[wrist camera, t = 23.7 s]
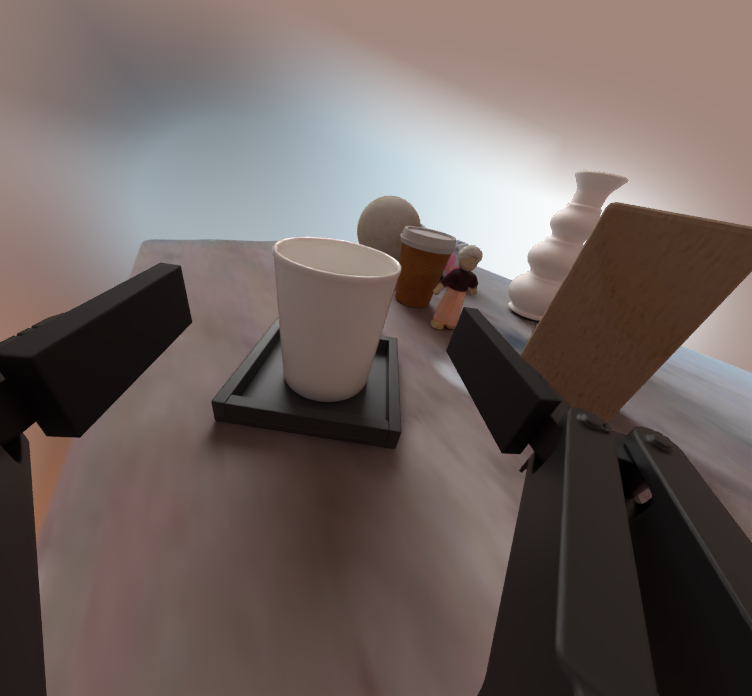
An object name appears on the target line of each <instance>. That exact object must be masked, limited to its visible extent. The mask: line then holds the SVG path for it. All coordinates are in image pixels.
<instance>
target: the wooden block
mask: <svg viewBox="0 0 752 696" xmlns="http://www.w3.org/2000/svg"><path fill="white" fill-rule="evenodd" d="M751 272H752V227H750V226H745V225H739V224H734V223H728V222H722V221H717V220H711V219H706V218H701V217H695V216H690V215H684V214H678V213H673V212H668V211H662V210H656V209H651V208H646V207H640V206H635V205H629V204H623V203H618V202H615V203H610V204H609V205H608V206H607V207H606V208H605V210H604V212H603V213H602V215H601V217H600V219H599V220H598V222H597V224H596V225H595V227H594V229H593V231H592V232H591V234H590V236H589V237H588V239H587V241H586V243H585V244H584V246H583V248H582V249H581V251H580V253H579V255H578V256H577V258H576V260H575V261H574V263H573V265H572V267H571V268H570V270H569V272H568V273H567V275H566V277H565V279H564V280H563V282H562V284H561V285H560V287H559V289H558V291H557V292H556V294H555V296H554V297H553V299H552V301H551V303H550V304H549V306H548V308H547V309H546V311H545V313H544V315H543V316H542V318H541V320H540V321H539V323H538V325H537V327H536V328H535V330H534V332H533V334H532V335H531V337H530V339H529V340H528V342H527V344H526V346H525V347H524V349H523V351H522V352H521V354H520V356H521V357H522V358H523V359H524V360H525V361H526V362H527V363H529V364H530V365H531V366H533V367H534V368H535V369H536V370H537V371H538V372H539V373H540V374H541V375H542V376H543V377H542V378H545V379H546V380H547V382H548V383H549V385H551V386H552V387H553V388H554V389H555V390H556V391H557V392H558V393H559V394H560V395H561V396H562V398H563V399H564V400H565V401H566V402H567V403H568V404H569V405H570V406H571V407H572V408H574V407H576V408H582V409H584V410H587V411H589V412H591V413H593V414H595V415H596V416H598V417H599V418H601V419H602V420H603V421H605V422H606V423H607V422H608V421H609V420H610V419H611V418H612V417H613V416H614V415H615V414H616V413H617V412H618V411H619V410H620V409H621V408H622V407H623V406H624V405H625V403H626V402H627V401H628V400H629V399H630V398H631V397H632V396H633V395H634V394H635V393H636V392H637V391H638V390H639V389H640V388H641V387H642V386H643V385H644V384H645V383H646V382H647V380H648V379H649V378H650V377H651V376H652V375H653V374H654V373H655V372H656V371H657V370H658V369H659V368H660V367H661V366H662V365H663V364H664V363H665V362H666V361H667V360H668V358H669V357H670V356H671V355H672V354H673V353H674V352H675V351H676V350H677V349H678V348H679V347H680V346H681V345H682V344H683V343H684V342H685V341H686V340H687V339H688V338H689V336H690V335H691V334H692V333H693V332H694V331H695V330H696V329H697V328H698V327H699V326H700V325H701V324H702V323H703V322H704V321H705V320H706V319H707V318H708V317H709V316H710V314H711V313H712V312H713V311H714V310H715V309H716V308H717V307H718V306H719V305H720V304H721V303H722V302H723V301H724V300H725V299H726V298H727V296H728V295H730V294H731V293H732V291H733V290H734V289H735V288H736V287H737V286H738V285H739V284H740V283H741V282H742V281H743V280H744V279H745V278H746V277H747V276H748V275H749V274H750V273H751Z"/></svg>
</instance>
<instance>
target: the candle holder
mask: <svg viewBox="0 0 752 696" xmlns="http://www.w3.org/2000/svg"><path fill="white" fill-rule="evenodd" d="M273 256H274V262H275V274H276V288H277V301H278V314H279V328H280V341H281V354H282V365H283V374H284V378H285V381H286V383H287V384H288V386H289V387H290V388H291V389H292V390H293V391H294V392H296V393H297V394H299V395H300V396H302V397H305V398H307V399H310V400H314V401H319V402H337V401H342V400H346V399H349V398H351V397H353V396H355V395H356V394H358V393H359V392H360V391H361V390H362V389H363V387H364V386H365V384H366V382H367V379H368V376H369V373H370V370H371V367H372V364H373V360H374V357H375V354H376V350H377V347H378V344H379V340H380V337H381V334H382V330H383V327H384V324H385V320H386V317H387V314H388V310H389V307H390V304H391V300H392V297H393V294H394V290H395V287H396V284H397V281H398V278H399V276H400V274H401V265H400V264H399V262H398V261H397V260H395V259H394V258H393V257H391V256H389V255H387V254H385V253H383V252H381V251H379V250H376V249H373V248H370V247H367V246H364V245H360V244H356V243H352V242H347V241H342V240H336V239H328V238H319V237H294V238H287V239H283V240H280V241H278V242H276V243H275V244H274V246H273Z"/></svg>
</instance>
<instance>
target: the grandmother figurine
mask: <svg viewBox="0 0 752 696" xmlns="http://www.w3.org/2000/svg"><path fill="white" fill-rule="evenodd" d="M458 255H459V256H458V257H457V258H458V260H459V266H460V268H458V269H454V270H452V271H451V272H450V273H449V274H447V275H446V276H445V277H444V278H443V279H442V280H441V281H440V283H439V284H438V285H437V287H436V288H435V289H434V290H433V293H434V294H435V295H438V294H439V293H440V291H441V290H443V289H444V288H445V287H446V286H448V287H447V291H446V293H445V294H444V296H443V298H442V300H441V301H440V303H439V305H438V307H437V310H436V313H435V315H434V319H433V320H431V322H430V323H431V326H432V327H433V328H435V329H443V328H444V326H445V327H446V328H449V329H455V327H456V325H457V322H458V319H459V316H460V312H461V309H462V305H463V301H464V298H465V294H466V292H467V290H468V287H470V290H471V291H470V294H471V295H476V294H477V285H478V281H477V277H476V275H475V274H474V273H472V272H471V271H472V270H474V269H475V267H476V266H477V264H478V263H479V262H480V261H481V259H482V251H480V249H479V248H478V247H476V246H475V245H468V246H465V247H463V248H462V249H461V250H460V251H459V253H458ZM443 325H444V326H443Z"/></svg>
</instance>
